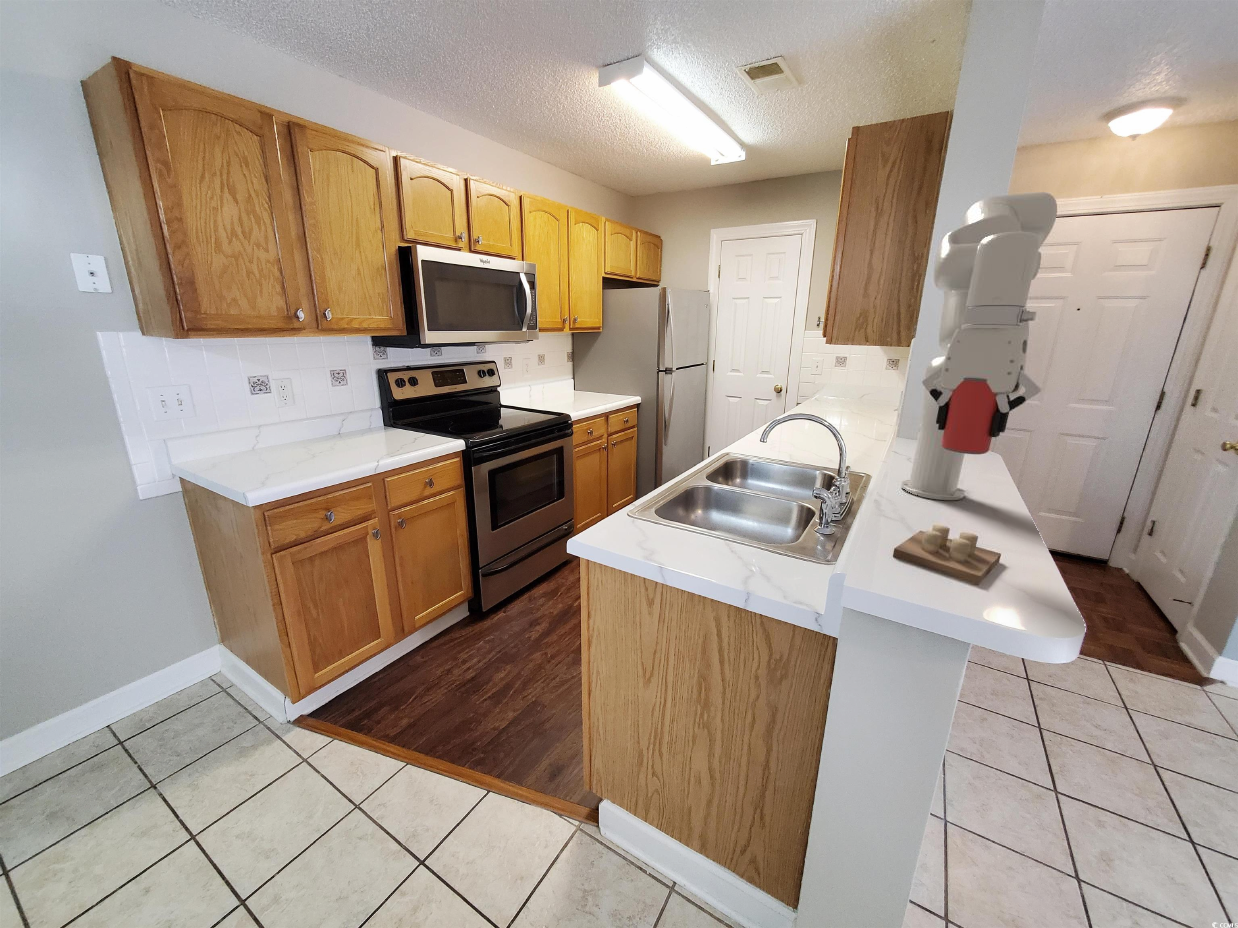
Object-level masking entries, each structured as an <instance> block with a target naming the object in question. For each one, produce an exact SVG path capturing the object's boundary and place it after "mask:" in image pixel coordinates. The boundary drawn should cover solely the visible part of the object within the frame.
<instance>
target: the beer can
mask: <svg viewBox="0 0 1238 928" xmlns="http://www.w3.org/2000/svg"><path fill="white" fill-rule="evenodd" d="M963 379H964V381H962V382H961V383H960V384H959V385H958V386H957V387H956V389H954V390H953V392H952V395H951V399H950V404H949V408H948V413H947V418H946V423H945V428H944V433H943V438H942V443H941V445H942V447H943V448H944V449H946V450H949V451H953V452H958V453H964V455H965V454H966V455H984V454H987V453H988V452H989V451H990V449H991V443H992V439H993V437H991V436H990V431H991V427H992V422H993V418H994V413H995V412H998V408H999V406H998V403H997V400H996V394H994V393H993V392H992V390H991V388H990V387H989V385H988V384H987V382H986V381H988V380H987V379H976V378H963Z"/></svg>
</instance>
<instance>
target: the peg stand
mask: <svg viewBox="0 0 1238 928" xmlns="http://www.w3.org/2000/svg"><path fill="white" fill-rule="evenodd" d="M950 531H951V530H950V527H948V526H946V525H942V524H933V525H932V529H931V530H925V531H923V530H920V531H918V532H916V533H914V534H913V535H912V536H910V537H908V539H906V540H904V541H903V542H901V543H900V544H899V545H897V546H896V547H894V548H893V553H892V557H893V558H896V559H898V560H902V561H904V562H908V563H911V564H913V565H915V566H920V567H923V568H925V569H928V570H932V571H935V572H937V573H940V574H943V575H946V576H950V577H952V578H955V579H958V580H961V581H965V582H968V583H971V584H973V585H976V586H979V585H980V584H981V583H982V582H983V580H984V579H985V578H987V576H988V575H989V574H990V573H991V571H992V570H994V569H995V567H996V566H997V565H998V564H999V563H1000V560H1001V555H1002V553H1000V552H996V551H993V550H989V549H987V548H983V547H979V546H977V544H978V539H979V536H978V535H977V534H975V533H972V532H967V531H962V532H959V533H960V534H959V537H957V538H949V535H950Z"/></svg>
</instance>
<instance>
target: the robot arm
mask: <svg viewBox="0 0 1238 928" xmlns="http://www.w3.org/2000/svg"><path fill="white" fill-rule="evenodd" d="M1057 214H1058V204H1057V200H1056V197H1054V196H1053V195H1052V194H1051V193H1048V192H1044V191H1043V192H1040V191H1039V192H1029V193H1028V192H1027V193H1020V194H1019V193H1017V194H1004V195H995V196H991V197H986V198H983V199H981V200H979V201H977V202H976V203H974V204H973V205H971V207H970V208H969V209H968V210H967V212H965V215H964V216H963V220H962V226H961V227H959V228H957V229H954V230H952V231H950V232H948V233H947V234H946V235H944V237H943V239H942V241H941V243H940V244H939V246H938V249H937V251H936V255H935V259H934V267H933V268H934V269H933V281H934V285H935V287H936V288H937V289H938V290H940V291H942V292H943V305H942V312H941V317H940V323H939V325H940V327H939V333H938V345H939V347H940V349H941V350H942V351H944V352H947V353H946V354H945V355H942V356H941V355H940V356H937V357H935V358H933V359H932V360H931V361H930V362H929V363H928V365H927V366H926V369H925V373H924V379H923V380H922V381H921V382H922V385H923V387H924V397H923V406H922V407H923V408H922V414H921V419H920V423H919V430H918V435H917V439H916V440H917V441H916V446H915V451H914V457H913V461H912V467H911V472H910V477H909V479H905V480H903V481H902V482H901V485H900V488H901V487H902V488H903V489H905V490H906V491H905V490H904V491H905V492H907V491H908V492H907V493H909V492H910V493H909V494H911V493H912V494H911V495H914V496H917V495H918V497H922V498H926V499H932V500H939V501H957V500H962V499H963V498H964V496H965V491H964V490H963V489H961V488H960V487H958V486H959V481H960V477H961V473H962V468H963V467H962V466H963V463H964V458H965V454H964V453H958V452H953V451H949V450H946V449H944V448H943V447H942V445H941V443H942V438H943V433H944V428H945V423H946V418H947V413H948V408H949V404H950V399H951V395H952V392H953V390H954V389H956V387H957V386H958V385H959V384H960V383H961V382H962V381H964V379H963V378H976V379H987V380H988V381H986V382H987V384H988V385H989V387H990V388H991V390H992V392H993V393H994V394H996V400H997V403H998V406H999V408H998V412H995V413H994V418H993V422H992V427H991V431H990V436H991V437H992V438H997V437H999V436H1001V434H1002V433H1005V431H1006V428H1007V423H1008V420H1009V415H1010V412H1012V411H1013V410H1014V409H1017V408H1018V407H1020V406H1021V405H1023V404H1025V403H1027V402H1028V401H1029V400H1031V399H1032V398H1034V397H1035V396H1037V395H1039V394H1040V393H1041V392H1042V390H1043V389H1042V388H1041V387H1040V386H1039V385H1038V384H1037V383H1036V382H1035V381H1034V380H1033V379H1032V378H1031V377H1029V375H1027V373H1026V372H1025V371H1026V362H1027V361H1026V360H1027V352H1028V345H1029V335H1030V322H1034V321H1036V318H1037V311H1031V310H1028V309H1027V307H1026V306H1027V302H1028V299H1029V298H1028V297H1029V293H1030V289H1031V285H1032V280H1035V279H1036V277H1037V275H1038V273H1039V270H1040V269H1041V262H1042V253H1041V252H1040V248H1041V247H1042V246H1043V244H1044V243H1045V241H1046V240H1047V239H1048V237H1049V235H1050V233H1051V231H1052V230H1053V229H1054V225H1055V223H1056V219H1057ZM1022 387H1023V388H1024V389H1025V391H1024V392H1022V393H1021V390H1022ZM1020 393H1021V394H1020ZM902 488H901V489H902ZM903 489H902V490H903Z"/></svg>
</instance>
